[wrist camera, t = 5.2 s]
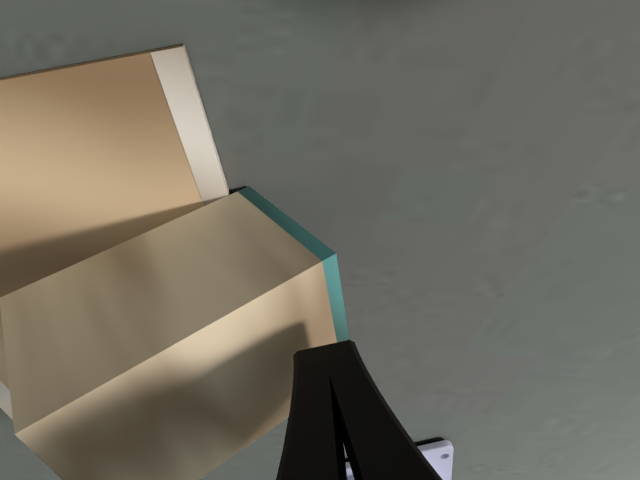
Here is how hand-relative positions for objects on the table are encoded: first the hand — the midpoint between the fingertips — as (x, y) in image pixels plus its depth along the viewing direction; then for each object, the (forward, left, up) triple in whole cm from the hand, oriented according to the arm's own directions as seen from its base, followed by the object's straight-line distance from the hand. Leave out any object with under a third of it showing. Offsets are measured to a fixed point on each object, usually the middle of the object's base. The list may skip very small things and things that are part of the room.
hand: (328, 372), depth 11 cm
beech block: (0, 0, -4) cm, 4 cm away
